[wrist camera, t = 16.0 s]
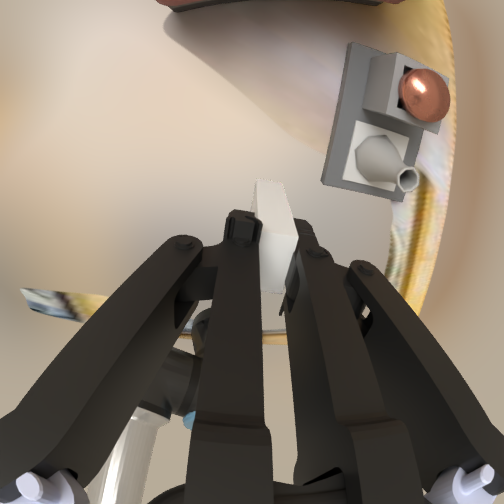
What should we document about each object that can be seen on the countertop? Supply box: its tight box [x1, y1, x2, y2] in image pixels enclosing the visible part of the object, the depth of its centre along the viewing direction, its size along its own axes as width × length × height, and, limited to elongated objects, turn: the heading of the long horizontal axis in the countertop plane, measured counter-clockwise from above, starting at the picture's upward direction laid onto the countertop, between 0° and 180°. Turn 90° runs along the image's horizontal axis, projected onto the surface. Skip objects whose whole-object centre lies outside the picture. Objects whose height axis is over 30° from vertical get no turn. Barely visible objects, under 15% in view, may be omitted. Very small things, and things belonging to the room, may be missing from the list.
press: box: [321, 42, 449, 202], centre depth 30 cm, size 22×14×10 cm, turn 172°
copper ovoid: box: [398, 69, 450, 122], centre depth 25 cm, size 6×6×8 cm
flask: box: [355, 135, 419, 193], centre depth 31 cm, size 7×7×10 cm
